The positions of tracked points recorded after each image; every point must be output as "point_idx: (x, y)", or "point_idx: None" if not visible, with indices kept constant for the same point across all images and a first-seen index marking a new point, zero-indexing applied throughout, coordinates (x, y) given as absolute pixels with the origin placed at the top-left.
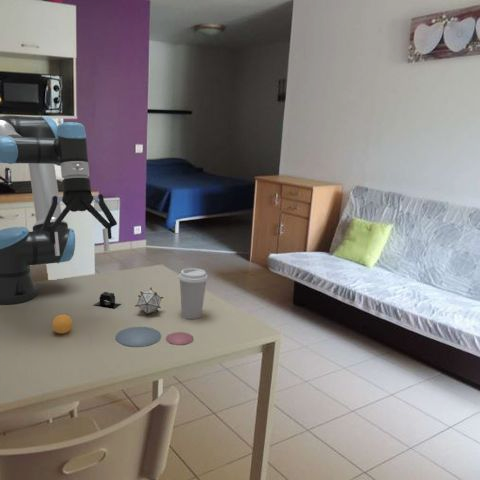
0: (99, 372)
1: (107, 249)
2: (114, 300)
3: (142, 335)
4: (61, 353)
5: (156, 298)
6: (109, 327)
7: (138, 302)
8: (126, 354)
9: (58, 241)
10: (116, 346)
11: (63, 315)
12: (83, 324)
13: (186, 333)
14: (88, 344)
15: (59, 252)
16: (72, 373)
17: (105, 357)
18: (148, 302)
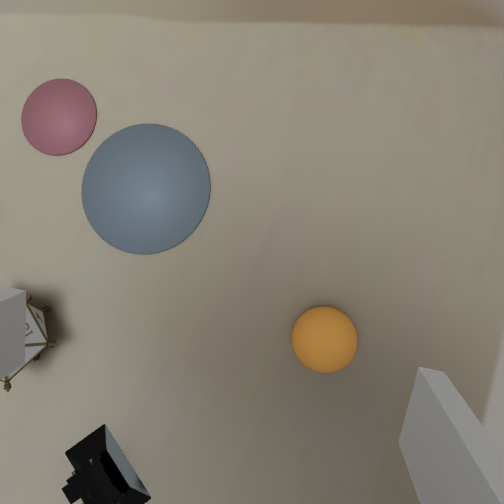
0: (326, 55)
1: (10, 294)
2: (78, 470)
3: (133, 185)
4: (372, 204)
5: None
6: (185, 294)
7: (37, 343)
8: (225, 108)
9: (473, 455)
10: (225, 165)
11: (324, 339)
12: (243, 360)
13: (25, 132)
14: (286, 217)
15: (427, 382)
16: (386, 84)
17: (279, 121)
18: None
